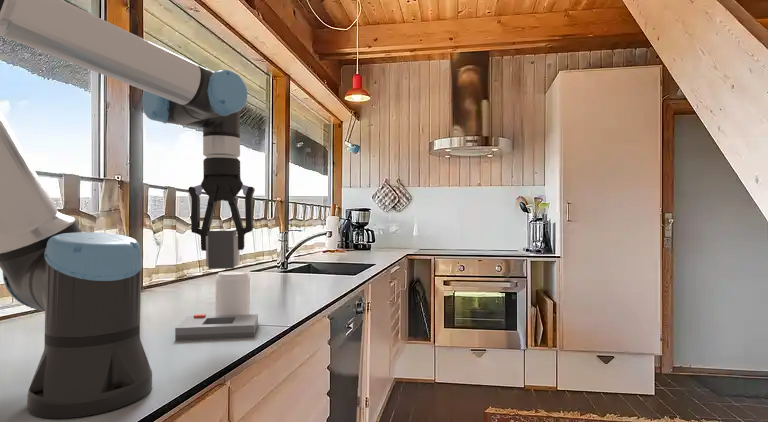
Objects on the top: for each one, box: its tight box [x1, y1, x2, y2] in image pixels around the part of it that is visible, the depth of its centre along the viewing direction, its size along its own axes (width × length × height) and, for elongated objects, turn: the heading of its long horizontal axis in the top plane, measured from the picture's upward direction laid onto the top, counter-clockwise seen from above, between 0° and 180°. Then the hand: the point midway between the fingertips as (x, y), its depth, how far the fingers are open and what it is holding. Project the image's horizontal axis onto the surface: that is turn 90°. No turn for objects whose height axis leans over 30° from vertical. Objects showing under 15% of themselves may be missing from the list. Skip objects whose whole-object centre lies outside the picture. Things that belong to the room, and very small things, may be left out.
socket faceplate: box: [174, 313, 259, 341], centre depth 102 cm, size 11×16×3 cm
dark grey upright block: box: [207, 228, 237, 270], centre depth 98 cm, size 5×5×8 cm
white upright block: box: [214, 270, 251, 316], centre depth 113 cm, size 8×8×12 cm
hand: (223, 265), depth 98 cm, fingers closed on dark grey upright block, 5 cm apart
